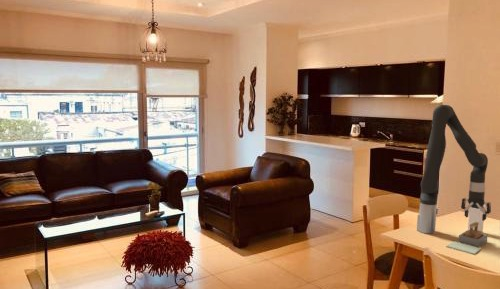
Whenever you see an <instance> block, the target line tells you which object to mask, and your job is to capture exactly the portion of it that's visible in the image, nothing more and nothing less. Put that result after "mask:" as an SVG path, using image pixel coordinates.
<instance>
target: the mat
mask: <svg viewBox="0 0 500 289" xmlns="http://www.w3.org/2000/svg"><path fill="white" fill-rule="evenodd" d="M445 247H447V248H449V249H452V248H453V250H457V251H459V252H464V253H466V254H467V253H468V254H471V255H476V254H477V253H478V252H480V251H482V248H481V247H479V248H478V247H474V246H471V245H467V244H463V243H459V241H455V240H454V241H452V242H450V243H448V244H447V245H446V246H445Z"/></svg>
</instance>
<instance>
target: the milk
mask: <svg viewBox="0 0 500 289" xmlns="http://www.w3.org/2000/svg"><path fill="white" fill-rule="evenodd" d="M483 206H484V208H485V209H486V205H485V204H484V205H483ZM468 210H469V212H468V222H467V224H468V225H467V230H469V229H470V224H472V223H474V222H479V223H478V231H482V234H484V233H483V232H484V221H485V220H484V221H482V216H483V212H482V211H481V210H480V209H477V208H472V207H470V208H469V209H468ZM473 230H475V227H474V228H473Z"/></svg>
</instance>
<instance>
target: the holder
mask: <svg viewBox="0 0 500 289" xmlns="http://www.w3.org/2000/svg"><path fill="white" fill-rule="evenodd" d="M466 231H468V229H467V230H465V231H464V232H462V233H461V234H459V235H458V242H460V243H463V244H466V245H470V246H474V247H478V248H481V247H482V246H484V245H485V244H486V243H488V234H485V233H482V237H481V238H479V239H475V238H471V237H467V236H465V232H466Z"/></svg>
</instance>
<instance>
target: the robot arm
mask: <svg viewBox="0 0 500 289" xmlns="http://www.w3.org/2000/svg"><path fill="white" fill-rule="evenodd" d="M447 126H448V128H449V129H450V130H451V132H452V135H453V137H454V139H455V141H456V143H457V144H458V146H459V147H460V149H461V150H462V151H463V153H464V155H465V157H466V159H467V161H468V163H469V164H470V165H471V166H472V167H473V168H472V171H470V176H469V179H470V180H469V185H468V198H466V197H463V198H461V205H460V207H461V208H460V209H462V210H464V216H465V218H469V209H470V207H472V208H477V209H480V210H481V211H482V212H483V216H482V221H486V220H487V216H488V215H490V214H491V212H492V206H491V205H492V203H491V202H490V201H489V202H488V201H485V195H486V194H485V193H486V192H485V191H486V172H487V170H488V169H487V168H488V164H489V162H488V161H489V159H488V157H487V154H485V153H483V152H479V151H478V149H477V145H476V142H474V140H473V139H472V137H471V136H470V134H469V133H468V132H467V130H466V129H465V127H464V126H463V125H462V123H461V121H460V120H459V118H458V115H457V113H456V111H455V110H454V108H453V107H452V106H451V105H449V104H439V105H437V106H436V107H435V108H434V109H433V112H432V123H431V130H430V135H429V140H428V144H427V149H426V156H425V168H424V171H423V174H422V175H423V176H422V179H421V181H420V195H419V196H420V197H419V214H417V222H416V223H417V224H416V231H418V232H420V233H422V234H430V235H431V234H432V235H433V234H435V233H436V224H437V207H438V196H439V172H440V169H441V166H442V164H443V160H444V156H445V152H446V147H447V141H446V139H447V138H446V127H447ZM466 203H468V205H467V204H466ZM484 204H485V208H484V206H483V205H484ZM466 205H467V206H466Z"/></svg>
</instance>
